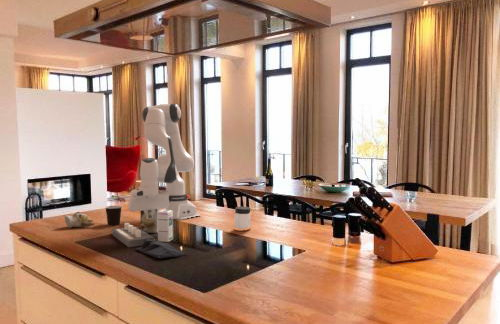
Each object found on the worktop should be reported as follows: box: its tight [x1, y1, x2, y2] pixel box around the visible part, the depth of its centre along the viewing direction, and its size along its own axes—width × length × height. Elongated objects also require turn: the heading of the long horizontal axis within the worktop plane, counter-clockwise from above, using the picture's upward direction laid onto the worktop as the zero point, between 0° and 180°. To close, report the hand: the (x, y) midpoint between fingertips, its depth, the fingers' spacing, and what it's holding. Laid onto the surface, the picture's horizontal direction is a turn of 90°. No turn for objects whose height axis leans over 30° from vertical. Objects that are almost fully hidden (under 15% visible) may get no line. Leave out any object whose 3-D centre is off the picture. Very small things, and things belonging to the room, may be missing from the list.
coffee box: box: [139, 209, 160, 234], centre depth 218 cm, size 9×6×16 cm
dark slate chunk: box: [135, 239, 186, 259], centre depth 181 cm, size 15×22×5 cm
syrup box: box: [157, 209, 174, 243], centre depth 201 cm, size 6×6×14 cm
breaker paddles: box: [123, 222, 141, 238], centre depth 202 cm, size 2×20×3 cm, turn 34°
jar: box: [233, 206, 252, 229], centre depth 225 cm, size 9×8×12 cm
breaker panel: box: [111, 225, 155, 248], centre depth 202 cm, size 12×26×3 cm, turn 34°
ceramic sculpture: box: [64, 211, 95, 229], centre depth 226 cm, size 11×9×15 cm
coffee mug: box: [105, 205, 123, 227], centre depth 234 cm, size 12×9×10 cm
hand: (149, 218), depth 206 cm, fingers closed
